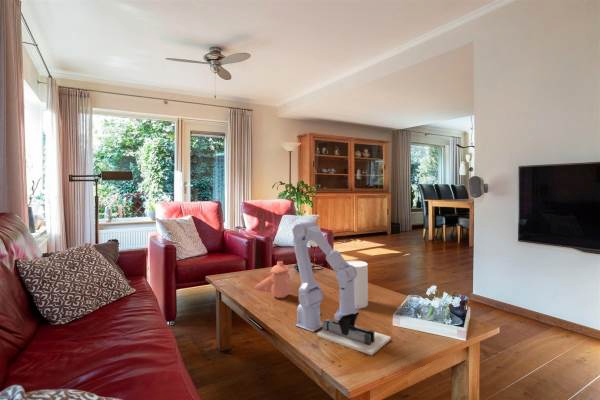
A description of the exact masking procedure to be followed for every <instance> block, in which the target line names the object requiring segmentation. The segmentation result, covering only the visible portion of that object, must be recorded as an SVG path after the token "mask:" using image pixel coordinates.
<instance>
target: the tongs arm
mask: <svg viewBox="0 0 600 400" xmlns="http://www.w3.org/2000/svg"><path fill="white" fill-rule="evenodd" d="M331 322H332V323H334V324H337V325H339V323H338V321H337V320H335V319H333V320H332V321H331ZM348 328H350V329H353V330H357V331H360V332H363V333H367V334H370V335H371V342H374V341H375V338H374V332H375V331H373V330H370V329H366V328H363V327H360V328H359V326H357V327H356V325H354V326H352V325H349V326H348Z"/></svg>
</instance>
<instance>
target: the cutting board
mask: <svg viewBox="0 0 600 400" xmlns="http://www.w3.org/2000/svg"><path fill="white" fill-rule="evenodd" d="M355 326H356V325H355ZM356 327H359V326H356ZM359 328H361V327H359ZM316 337H319V338H322V339H325V340H327V341H330V342H333V343H336V344H338V345H342V346H344V347H347V348H350V349H353V350H355V351H358V352H360V353H361V352H362V353H365V354H367V355H370V356H373V355H374V354H375V353H377V352H378V351H379V350H380V349H381V348H382V347H383V346H385V345H386V344H387V343H389V342H390V341H391V340H392V337H391V336H390V335H386V334H383V333H380V332H377V331H374V338H375V341H374V342H371V345H370V346H369V345H366V344H363V343H360V342H357V341H354V340H351V339H348V338H345V337H342V336H339V335H336V334H333V333H330V332H329V331H324V330H323V329H322V330H320V331H318V332H317V333H316Z"/></svg>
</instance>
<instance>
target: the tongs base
mask: <svg viewBox="0 0 600 400" xmlns="http://www.w3.org/2000/svg"><path fill="white" fill-rule="evenodd" d="M331 321H333V320H331V319H329V318H325V319H324V320H323V321H322V324H323V327H322V330H324V331H329V332H330V333H333V334H336V335H339V336H342V337H345V338H348V339H351V340H354V341H357V342H360V343H363V344H366V345H369V346H370V345H371V335H370V334H367V333H363V332H360V331H357V330H353V329H350V328H348V335H343V334H342V332H341V328H340V325H337V324H334V323H332V322H331Z"/></svg>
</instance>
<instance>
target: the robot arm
mask: <svg viewBox="0 0 600 400" xmlns="http://www.w3.org/2000/svg"><path fill="white" fill-rule="evenodd" d="M321 230H322V229H321V226H320V225H319V224H318V223H317V222H316V221H315V220H309V221H308V220H307V221H304V222H303V221H302V222H296V223H295V224H294V225H293V228H292V229H291V232H292V236H293V238H292V239H293V241H292V244H293V249H294V254H295V257H296V263H297V267H298V272H299V276H300V280H301V285H300V286H299V288H298V303H299V304H298V306H297V308H296V324H295V326H296V327H298V328H301V329H304V330H306V331H310V332H315V331H317V330H319V329H320V328H323V323H321V315H320V312H321V307H320V305H321V302H322V300H323V299H324V294H323V293H324V292H323V291H322V289H321V287H320V284H319V283H318V282H317V281H315V277H314V273H313V267H312V263H311V258H310V253H309V248H308V243H309V242H310V241H313V242H314V243H315V244H316V245H317V246H318V248H319V249H320V250H321V251H322V252H323V253H324V254H325V261H326V262H327V263H328V264H329V266H330V267H331V268H332V269H333V271H334V272H335V278H336V280H337V283H338V286H339V287H338V289H339V290H338V294H339V295H338V297H339V298H338V300H339V301H338V302H339V308H338V309H337V311H336V312H335V313H334V314H333V316H334V317H333V318H334V319H333V320H334V321H338V323H339V325H340V328H341V332H342V334H343V335H348V326H349V325H352V326H356V325H355V324H356V321H357V318H358V316H359V312H358V310H359V309H360V308H359V304H356V303H354V279H355V278H356V276H357V271H356V269H355V267H354V266H352V265H349V264H348V263H347V262H346V261H347V260H345V258H343V256H342V252H340V251H338V250H336V249H333V247H332V246H331V245H330V243H329V242H328V240H327V239H326V237H325V235H324V234H323V233H322V231H321Z"/></svg>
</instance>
